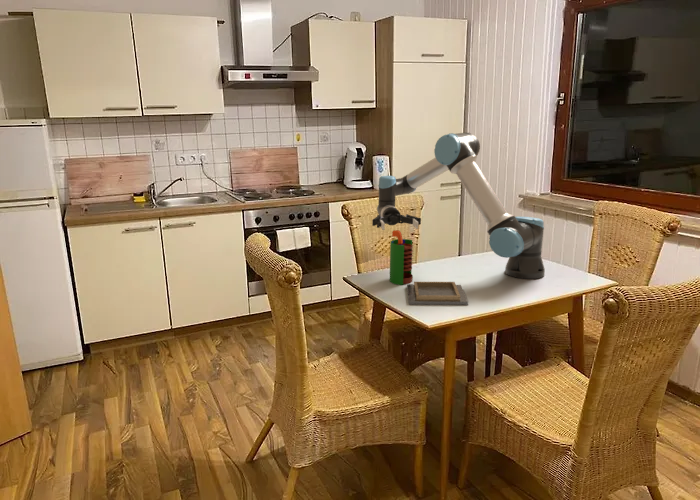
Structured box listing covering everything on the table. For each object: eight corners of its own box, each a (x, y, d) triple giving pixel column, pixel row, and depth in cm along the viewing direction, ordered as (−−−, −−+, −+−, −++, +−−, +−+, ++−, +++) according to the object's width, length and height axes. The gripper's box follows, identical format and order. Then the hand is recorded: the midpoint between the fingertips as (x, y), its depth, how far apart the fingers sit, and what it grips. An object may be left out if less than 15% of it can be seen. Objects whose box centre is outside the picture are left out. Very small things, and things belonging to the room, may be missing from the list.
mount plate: (460, 287, 198) (460, 280, 197) (467, 305, 180) (468, 297, 180) (407, 287, 199) (407, 280, 198) (409, 304, 182) (409, 297, 181)
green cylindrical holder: (411, 285, 201) (412, 234, 196) (388, 284, 203) (388, 233, 198) (413, 277, 211) (414, 228, 206) (391, 276, 213) (391, 228, 207)
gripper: (418, 222, 232) (431, 234, 212) (362, 224, 229) (369, 236, 209) (419, 206, 230) (431, 215, 210) (362, 207, 227) (369, 217, 207)
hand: (400, 226), depth 209 cm, fingers open, 13 cm apart
